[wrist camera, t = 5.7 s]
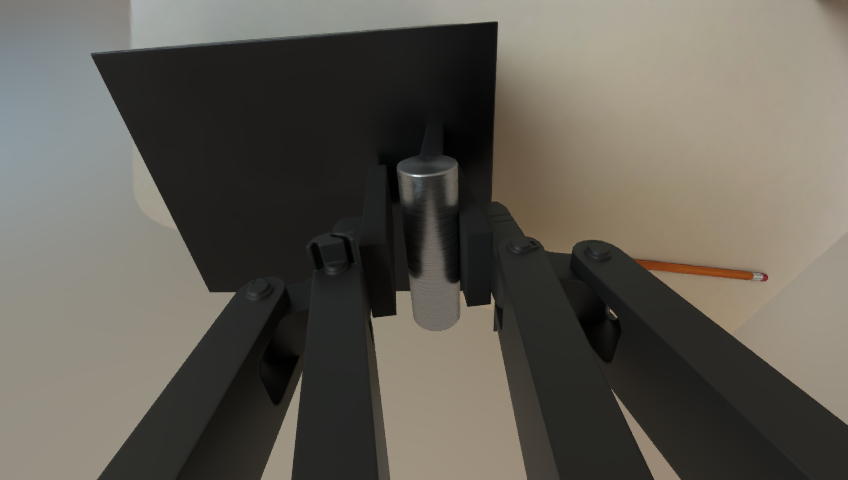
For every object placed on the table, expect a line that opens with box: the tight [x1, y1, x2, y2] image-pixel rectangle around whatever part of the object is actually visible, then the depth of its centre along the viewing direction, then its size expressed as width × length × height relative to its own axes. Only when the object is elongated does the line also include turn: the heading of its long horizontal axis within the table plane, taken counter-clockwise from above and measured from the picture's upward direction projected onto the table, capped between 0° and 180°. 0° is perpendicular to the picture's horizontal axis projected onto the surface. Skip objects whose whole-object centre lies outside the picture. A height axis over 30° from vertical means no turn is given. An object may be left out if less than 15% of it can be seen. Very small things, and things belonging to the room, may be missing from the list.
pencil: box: [633, 259, 768, 281], centre depth 37 cm, size 1×19×1 cm, turn 80°
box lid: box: [91, 22, 498, 331], centre depth 15 cm, size 17×13×7 cm
